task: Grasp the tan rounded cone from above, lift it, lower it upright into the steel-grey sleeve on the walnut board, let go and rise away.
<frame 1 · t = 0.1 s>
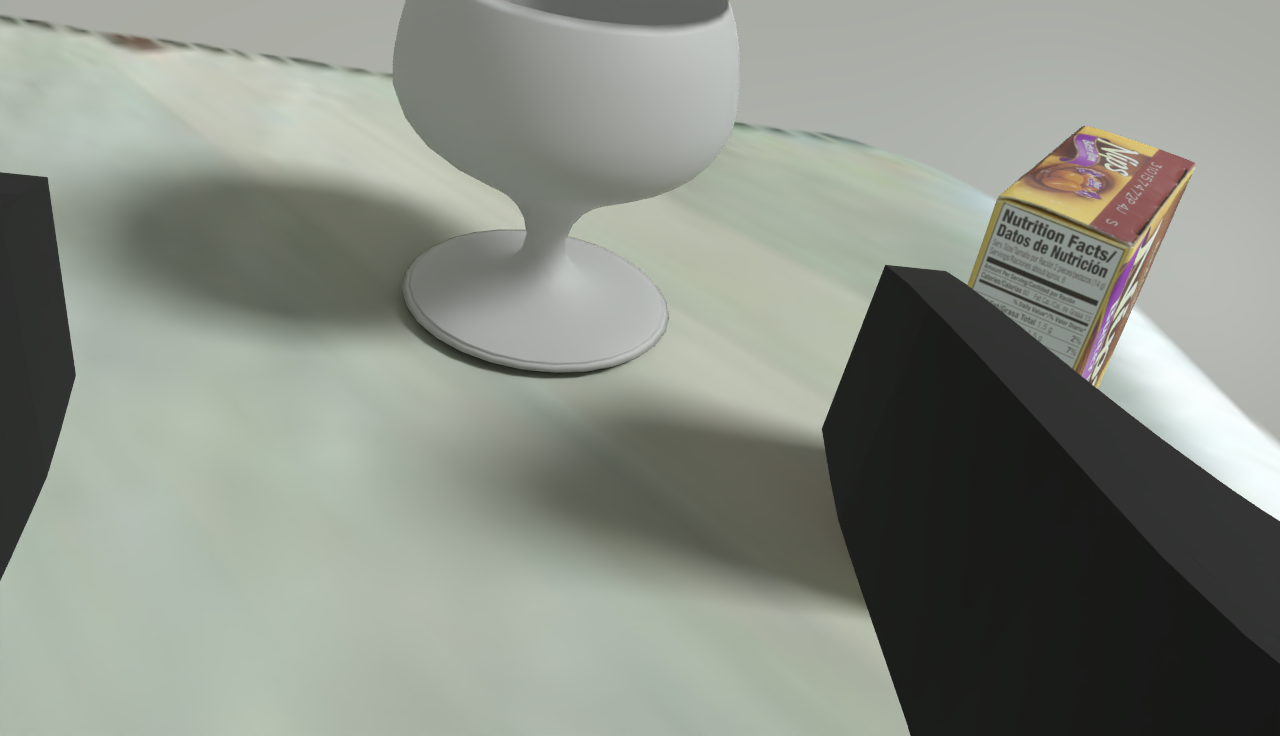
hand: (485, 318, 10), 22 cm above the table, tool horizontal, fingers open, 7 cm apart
chalice: (536, 306, 52), on the table
candy box: (951, 546, 43), on the table
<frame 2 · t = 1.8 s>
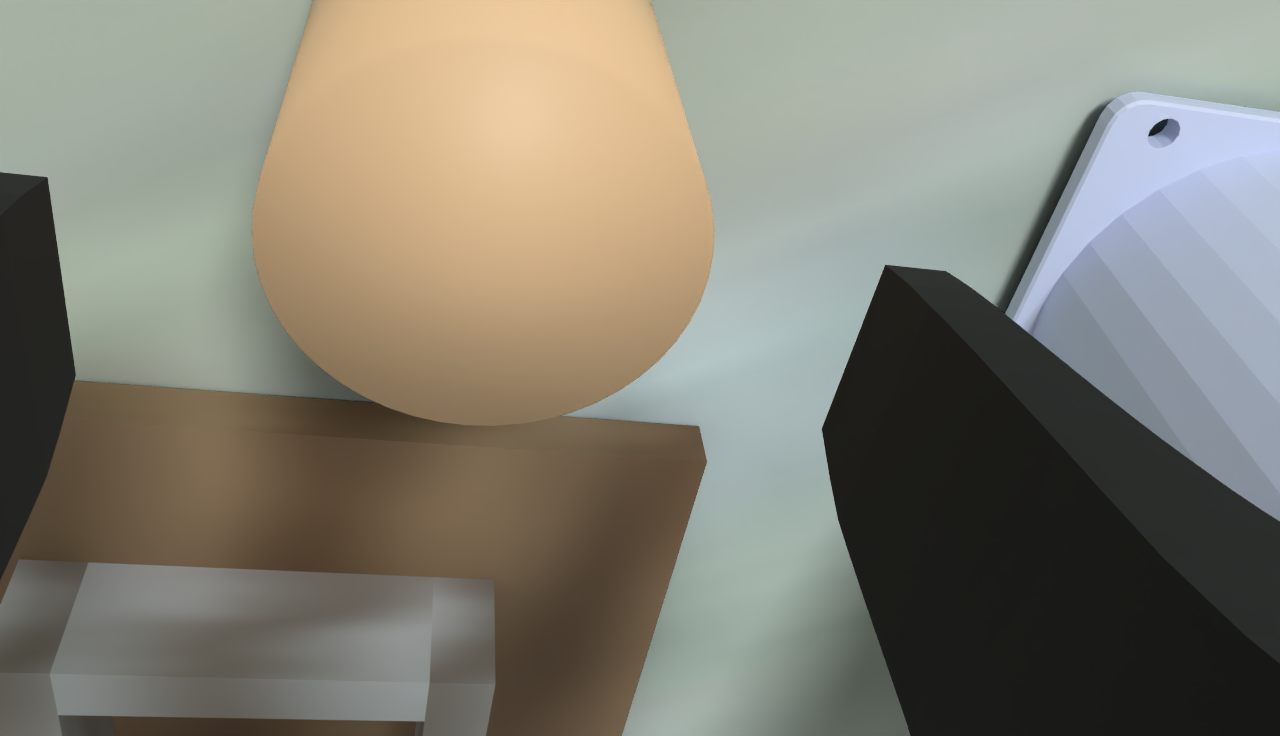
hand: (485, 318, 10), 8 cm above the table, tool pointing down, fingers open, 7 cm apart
sleeve holder: (274, 666, 25), on the table
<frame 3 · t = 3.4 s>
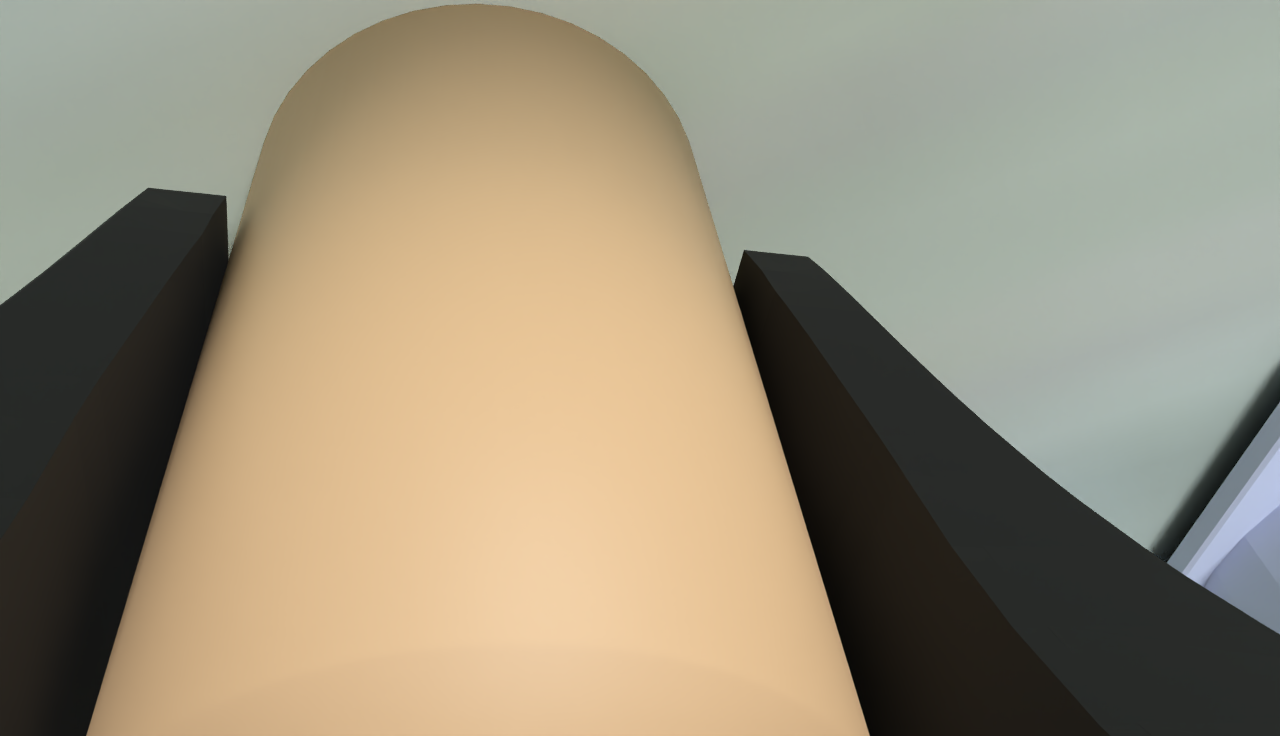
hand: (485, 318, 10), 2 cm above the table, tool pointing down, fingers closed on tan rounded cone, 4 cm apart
tan rounded cone: (483, 216, 12), on the table, touching gripper
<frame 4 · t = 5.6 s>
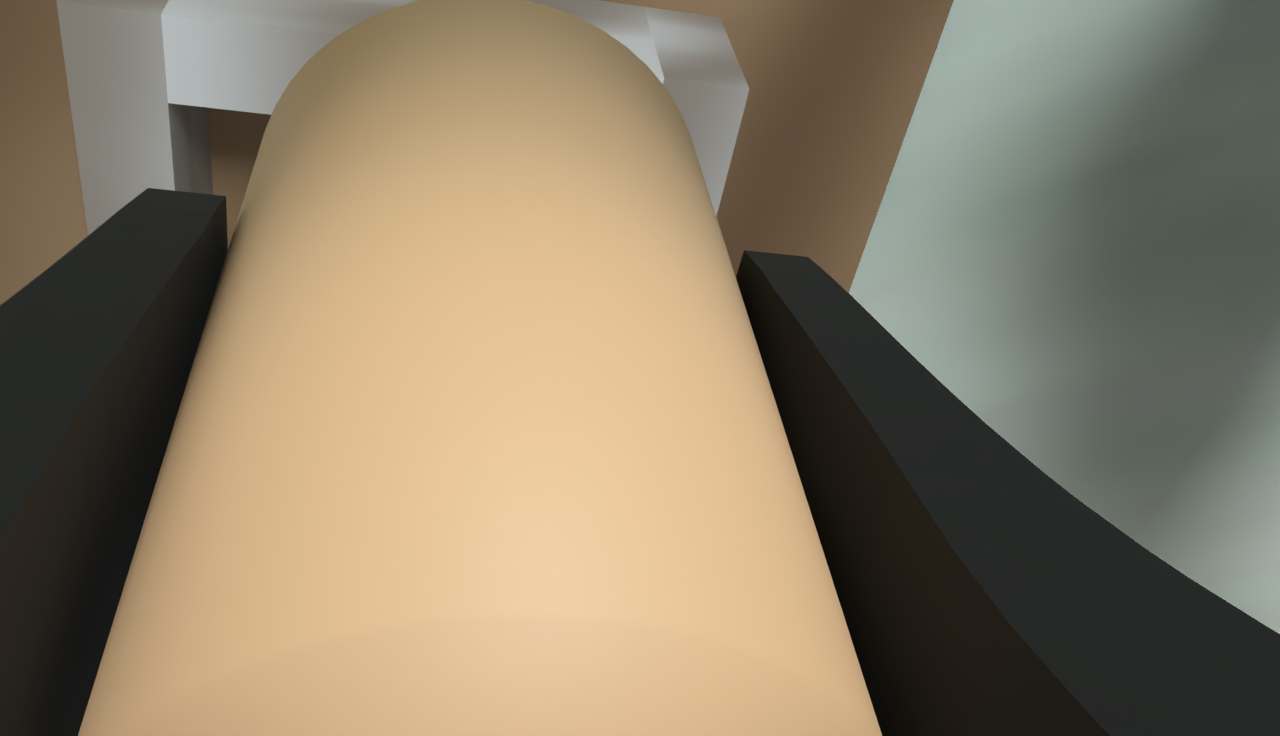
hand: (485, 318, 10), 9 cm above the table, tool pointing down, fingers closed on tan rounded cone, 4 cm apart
tan rounded cone: (484, 209, 11), point 8 cm above the table, touching gripper
sleeve holder: (414, 201, 20), on the table
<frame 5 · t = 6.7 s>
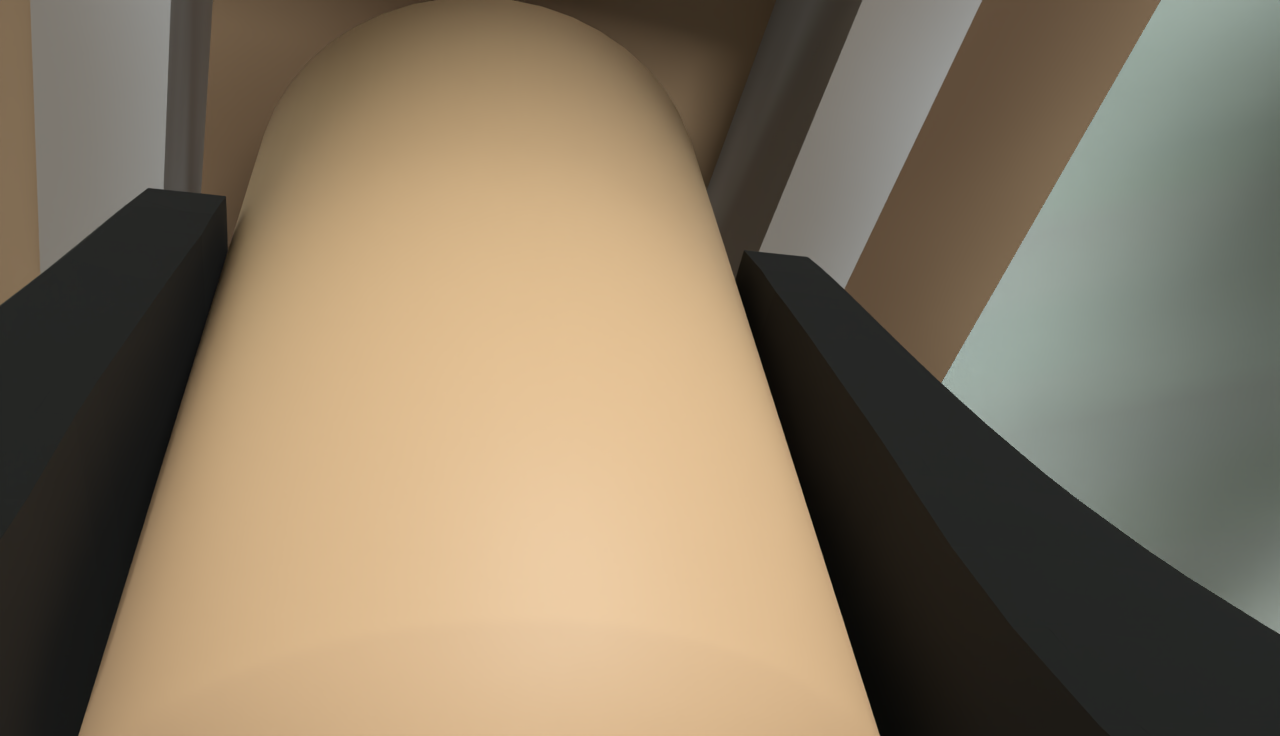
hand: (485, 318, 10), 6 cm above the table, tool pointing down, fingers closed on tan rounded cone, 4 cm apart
tan rounded cone: (483, 211, 11), point 4 cm above the table, touching gripper
sleeve holder: (485, 44, 15), on the table
when the fingers open (5 cm above the table, at t = 7.8 s): tan rounded cone drops 2 cm, resting on sleeve holder.
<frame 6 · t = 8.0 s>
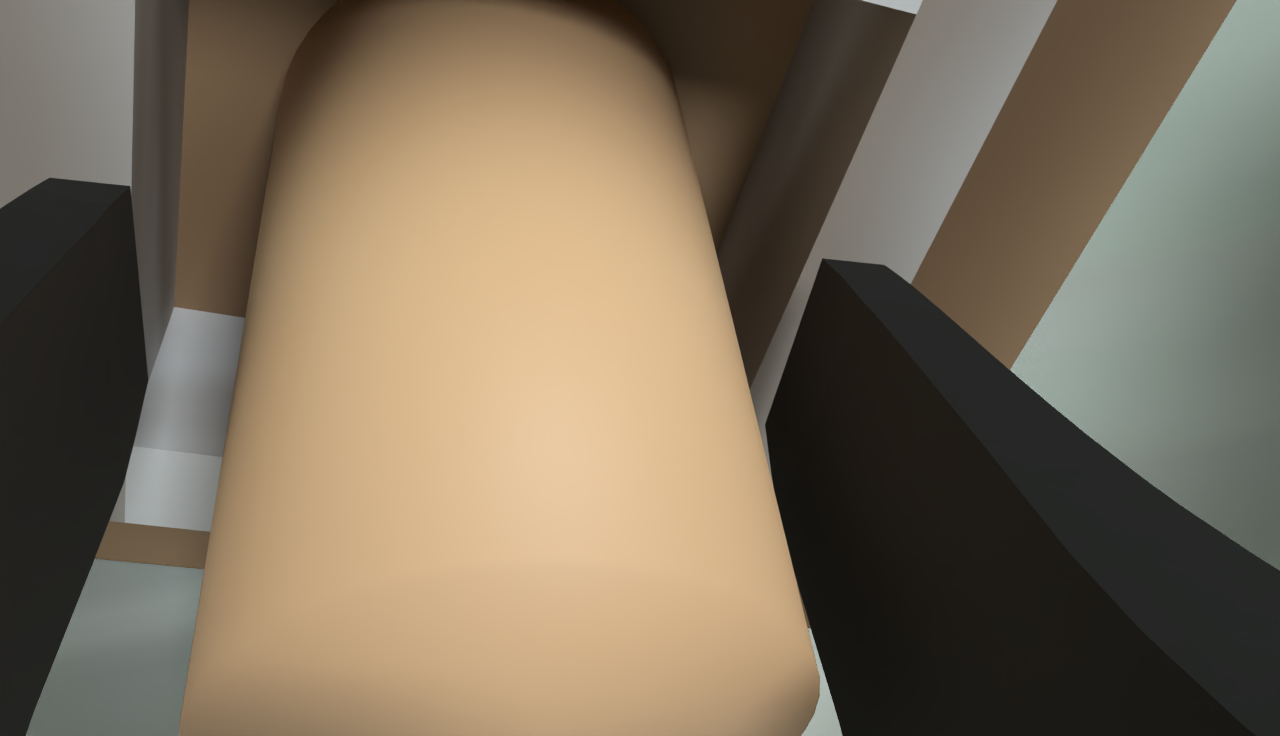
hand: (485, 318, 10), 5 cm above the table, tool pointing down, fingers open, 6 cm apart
tan rounded cone: (485, 140, 13), point 1 cm above the table, tilted 8°, touching sleeve holder
sleeve holder: (482, 90, 14), on the table
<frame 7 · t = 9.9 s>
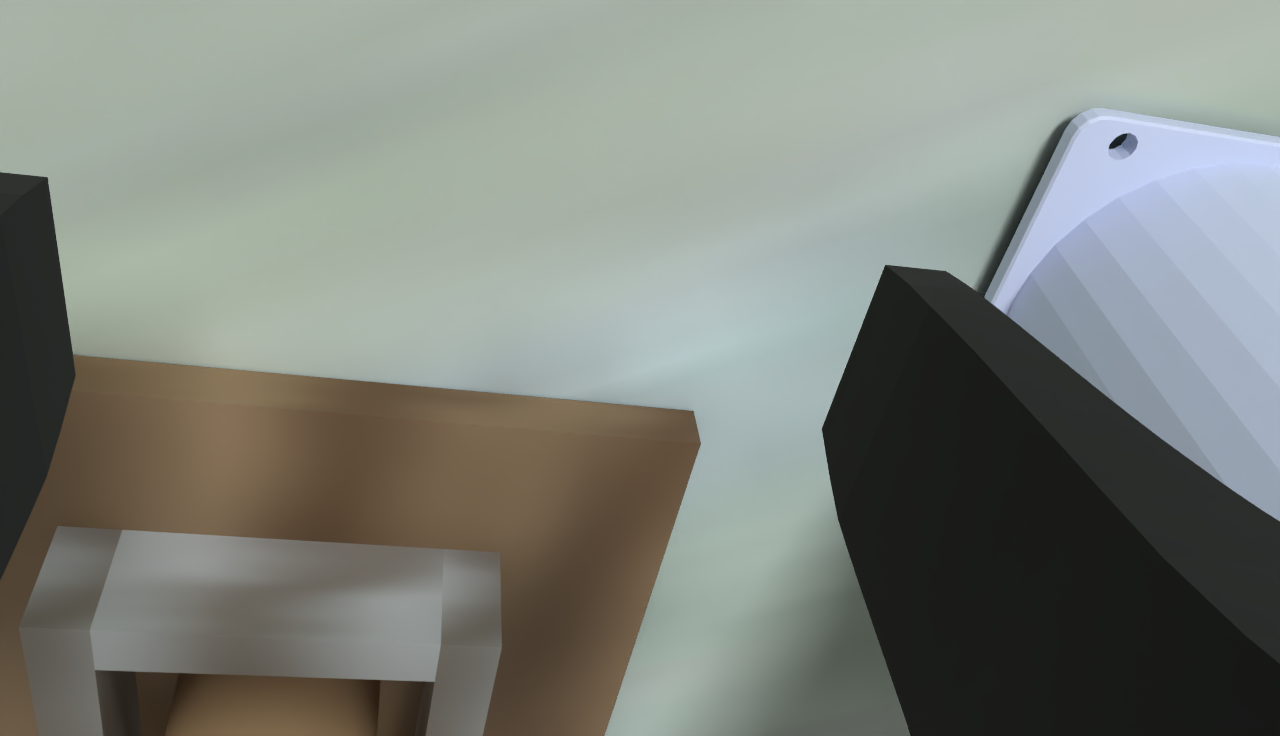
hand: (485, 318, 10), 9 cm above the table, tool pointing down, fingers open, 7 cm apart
tan rounded cone: (283, 669, 26), point 1 cm above the table, touching sleeve holder
sleeve holder: (288, 634, 27), on the table
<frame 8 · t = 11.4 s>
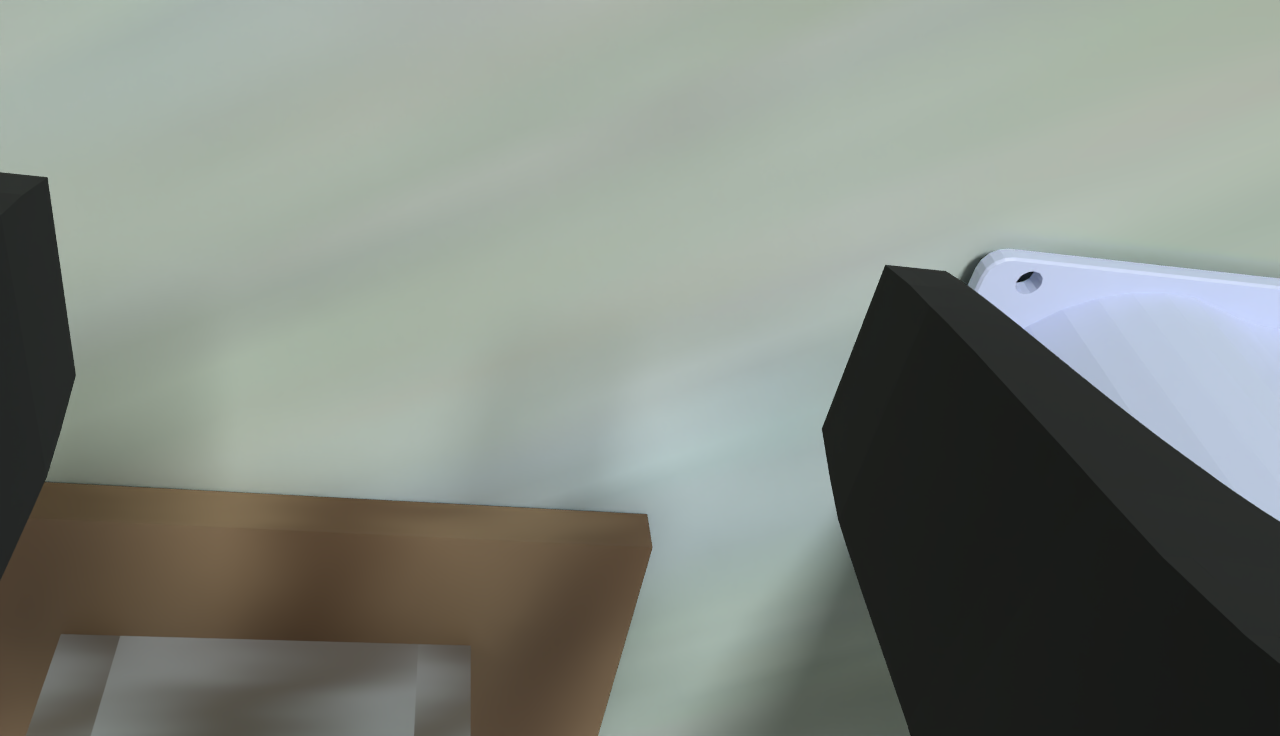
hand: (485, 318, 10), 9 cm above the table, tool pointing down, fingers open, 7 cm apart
sleeve holder: (279, 716, 29), on the table
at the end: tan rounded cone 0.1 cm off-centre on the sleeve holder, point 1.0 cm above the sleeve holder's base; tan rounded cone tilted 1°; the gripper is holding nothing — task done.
